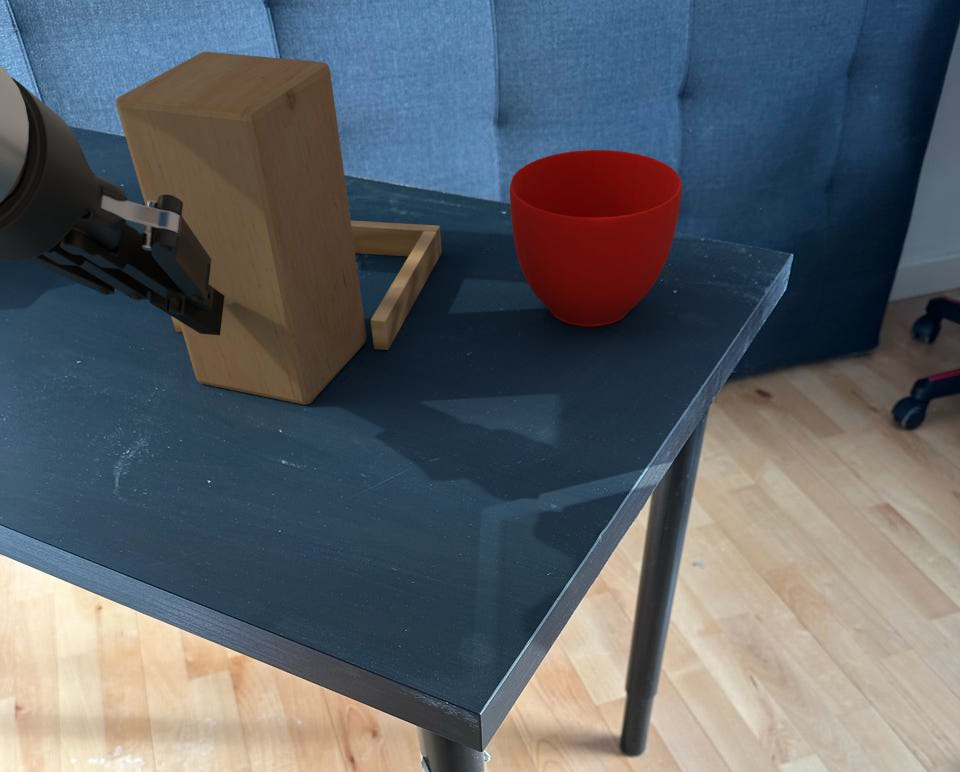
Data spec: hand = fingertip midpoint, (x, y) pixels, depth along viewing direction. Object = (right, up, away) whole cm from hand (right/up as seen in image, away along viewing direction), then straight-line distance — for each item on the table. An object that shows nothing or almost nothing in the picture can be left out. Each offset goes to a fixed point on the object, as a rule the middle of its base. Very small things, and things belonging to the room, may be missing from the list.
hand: (212, 314), depth 64 cm
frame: (+4, +8, +17) cm, 19 cm away
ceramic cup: (+27, +7, +15) cm, 31 cm away
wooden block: (+3, -1, +9) cm, 10 cm away
